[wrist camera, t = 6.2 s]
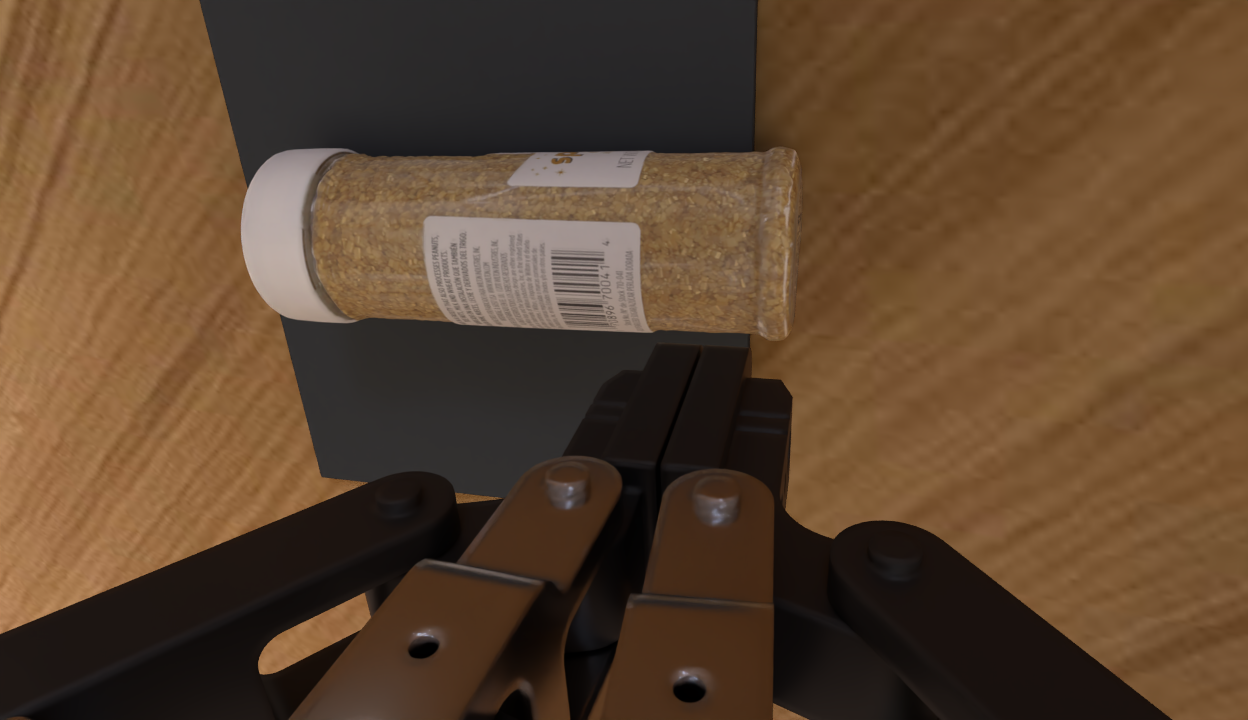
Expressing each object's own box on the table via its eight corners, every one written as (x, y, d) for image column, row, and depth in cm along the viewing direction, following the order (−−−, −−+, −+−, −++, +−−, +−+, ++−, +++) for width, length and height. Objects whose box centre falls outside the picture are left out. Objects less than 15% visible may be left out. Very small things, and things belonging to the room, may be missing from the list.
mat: (160, -192, 21) (149, -194, 20) (763, -257, 17) (761, -261, 17) (327, 471, 30) (321, 477, 29) (745, 518, 26) (744, 526, 26)
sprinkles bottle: (805, 102, 18) (270, 111, 21) (792, 280, 16) (206, 261, 19) (803, 224, 22) (354, 216, 25) (792, 378, 20) (307, 349, 23)
